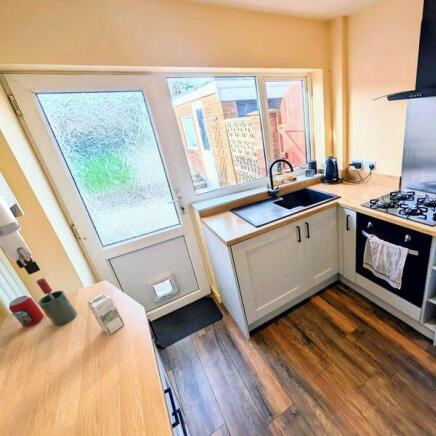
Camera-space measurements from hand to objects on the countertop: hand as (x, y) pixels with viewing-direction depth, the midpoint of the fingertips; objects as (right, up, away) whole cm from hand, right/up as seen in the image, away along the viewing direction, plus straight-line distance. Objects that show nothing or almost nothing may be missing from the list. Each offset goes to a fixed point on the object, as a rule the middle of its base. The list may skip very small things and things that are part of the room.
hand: (30, 269), depth 93 cm
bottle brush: (+3, -23, +11) cm, 26 cm away
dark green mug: (+3, -23, +11) cm, 26 cm away
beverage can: (-11, -25, +12) cm, 30 cm away
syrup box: (+29, -24, +4) cm, 38 cm away
